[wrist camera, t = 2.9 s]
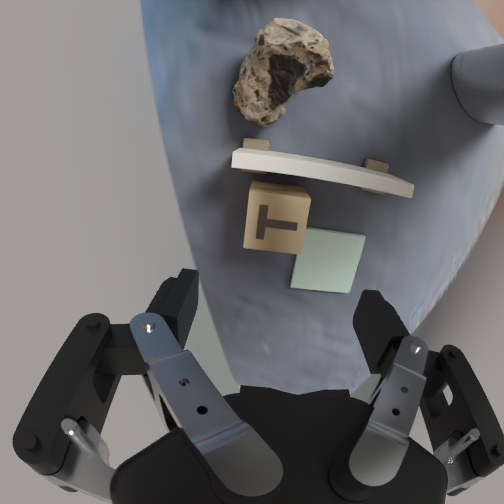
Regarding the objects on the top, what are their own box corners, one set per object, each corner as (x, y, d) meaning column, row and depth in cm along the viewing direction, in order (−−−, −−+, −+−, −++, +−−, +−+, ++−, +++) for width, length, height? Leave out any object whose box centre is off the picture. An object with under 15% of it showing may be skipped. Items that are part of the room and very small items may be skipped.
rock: (326, 148, 23) (372, 58, 14) (251, 154, 21) (283, 40, 12) (286, 95, 26) (312, 17, 17) (222, 97, 24) (237, 7, 15)
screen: (388, 163, 24) (417, 173, 19) (382, 193, 26) (408, 209, 20) (241, 137, 24) (234, 138, 19) (237, 169, 26) (230, 180, 20)
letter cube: (303, 187, 26) (311, 199, 21) (294, 234, 28) (300, 255, 24) (252, 180, 26) (249, 191, 21) (246, 228, 28) (243, 248, 24)
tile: (364, 235, 28) (365, 237, 27) (347, 290, 31) (349, 293, 30) (301, 226, 28) (302, 228, 27) (290, 284, 31) (290, 287, 30)
